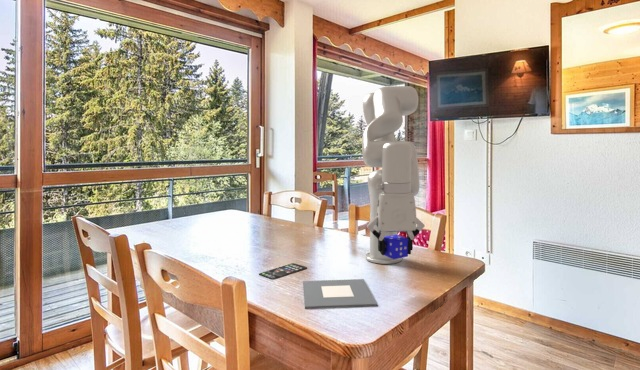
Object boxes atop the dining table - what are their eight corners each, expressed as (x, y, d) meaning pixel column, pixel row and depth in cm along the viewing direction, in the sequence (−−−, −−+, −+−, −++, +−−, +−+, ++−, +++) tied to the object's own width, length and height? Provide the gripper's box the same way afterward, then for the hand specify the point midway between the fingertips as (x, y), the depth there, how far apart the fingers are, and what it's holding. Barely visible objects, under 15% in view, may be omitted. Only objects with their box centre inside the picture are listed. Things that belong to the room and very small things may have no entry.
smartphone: (257, 273, 119) (293, 262, 130) (257, 275, 119) (293, 264, 130) (272, 279, 114) (308, 267, 124) (272, 281, 114) (308, 269, 124)
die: (408, 256, 103) (408, 238, 102) (393, 259, 101) (393, 241, 100) (396, 251, 107) (396, 234, 107) (382, 254, 105) (382, 236, 104)
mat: (303, 282, 111) (303, 280, 111) (363, 280, 112) (363, 278, 112) (305, 308, 93) (304, 306, 93) (377, 305, 95) (377, 303, 94)
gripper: (366, 191, 97) (366, 258, 99) (432, 189, 98) (431, 256, 101) (361, 187, 104) (361, 250, 107) (423, 186, 106) (421, 248, 108)
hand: (395, 252), depth 104 cm, fingers closed on die, 6 cm apart
